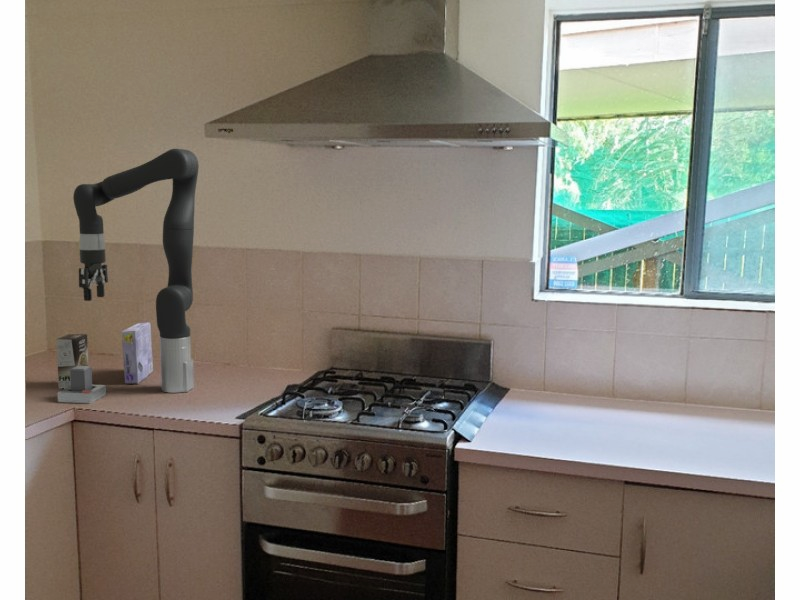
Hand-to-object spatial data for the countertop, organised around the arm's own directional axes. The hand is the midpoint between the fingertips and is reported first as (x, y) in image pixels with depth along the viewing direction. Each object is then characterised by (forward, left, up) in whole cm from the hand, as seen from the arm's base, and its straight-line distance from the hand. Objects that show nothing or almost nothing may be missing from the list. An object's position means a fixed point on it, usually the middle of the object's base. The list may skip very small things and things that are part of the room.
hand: (94, 298), depth 245 cm
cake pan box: (-9, -11, -28) cm, 32 cm away
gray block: (-3, +16, -28) cm, 32 cm away
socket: (-3, +16, -28) cm, 32 cm away
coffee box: (+7, +2, -28) cm, 29 cm away
